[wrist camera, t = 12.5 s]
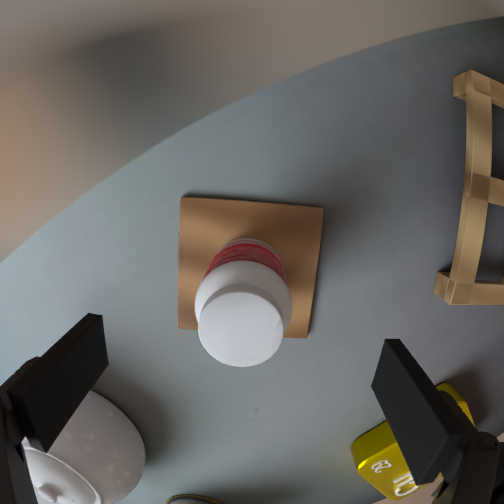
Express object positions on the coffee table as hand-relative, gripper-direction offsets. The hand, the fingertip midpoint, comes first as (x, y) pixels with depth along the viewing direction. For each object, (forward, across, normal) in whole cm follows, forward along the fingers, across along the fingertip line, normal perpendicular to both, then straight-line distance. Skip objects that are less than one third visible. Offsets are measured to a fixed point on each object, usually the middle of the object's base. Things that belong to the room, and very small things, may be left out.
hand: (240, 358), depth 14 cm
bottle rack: (+15, +25, +10) cm, 31 cm away
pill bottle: (+14, 0, 0) cm, 14 cm away
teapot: (+15, -19, -24) cm, 34 cm away
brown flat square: (+15, 0, 0) cm, 15 cm away
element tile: (+15, +24, -22) cm, 36 cm away
